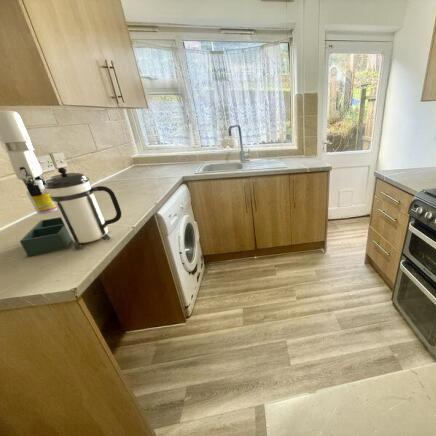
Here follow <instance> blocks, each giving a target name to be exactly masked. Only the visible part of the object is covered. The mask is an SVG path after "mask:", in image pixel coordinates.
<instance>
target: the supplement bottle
mask: <svg viewBox="0 0 436 436" xmlns="http://www.w3.org/2000/svg"><path fill="white" fill-rule="evenodd" d="M35 181H36V185H38V186H39V188H40V190H41V192H43V190H44V189H45V187H44V185H43V182H42V180H35ZM25 192H26V195H27V196H28V198H29V200H30V202H31V204H32V206H33V208H34V210H35V212H36V213H37V214H38V215H46V214H51V213H54V212H56V211H58V210H57V208H56V206H55V204H54V202H53V201H52V200H51V198H50V194H49V193H46V194H42V195H40V196H31V195H30V193H29V191H28V189H27V188H26V190H25Z"/></svg>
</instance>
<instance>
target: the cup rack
mask: <svg viewBox="0 0 436 436" xmlns="http://www.w3.org/2000/svg"><path fill="white" fill-rule="evenodd" d="M71 241H72V239H71V237H70V235H69V233H68V231H67V229H66V227H65V225H64V222H63V220H62V218H61V216H59V217H52V218H48V219H47V218H46V219H41V220H40V221H38V222H37V223H36V225H34V227H32V229H30V230H29V231H28V233H27V234H25V235H24V236H23V237H22V238H21V239H20V240H19V242H20V244H21V246H22V248H23V250H24V252H25V253H26V255H27V257H33V256H38V255H42V254H47V253H51V252H56V251H61V250H64V249H67V247H68V246H69V244H70V243H71Z"/></svg>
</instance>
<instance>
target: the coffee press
mask: <svg viewBox="0 0 436 436" xmlns="http://www.w3.org/2000/svg"><path fill="white" fill-rule="evenodd" d="M57 172H58V173H59V174H56V175H53V176H49V177H48V178H46V179H45V180H44V181H45V185H44V187H45V189H44V190H43V192H42V194H46V193H49V194H50V198H51V200H52V201H53V202H54V204H55V206H56V208H57V210H56V211H57V212H58V214H59V217H61V218H62V220H63V222H64V225H65V227H66V229H67V231H68V233H69V235H70V237H71V241H73V243H74V249H78V250H79V249H80V248H82V247H83V245H84V244H86V243H90V242H94V241H97V240H99V239H103V240H104V241H106V240H107V241H109V240H110V239H111V236H110V235H108V233H109V229H108V226H109V225H111V224H114V223H116V222H118V221H119V220H121V217H122V209H121V207H120V204H119V202H118V199H117V197H116V194H115V192H114V190H112V189H111V188H109V187H107V186H105V185H98V186H94V187H92V186H91V184H90V178H89V177H87V175H85V174H84V173H82V172H67V169H66V168H65V167H59V168H58V169H57ZM102 191H103V192H105V193H107V194H108V195H109V197H110V199H111V202H112V204H113V207H114V210H115V216H114V217H113V218H111V219H110V218H109V219H106V220H105V218H104V216H103V213H102V211H101V209H100V206H99V204H98V201H97V199H96V195H95V192H102Z"/></svg>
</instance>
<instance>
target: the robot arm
mask: <svg viewBox="0 0 436 436" xmlns="http://www.w3.org/2000/svg"><path fill="white" fill-rule="evenodd" d="M0 142H1V145H2V147H3V148H4V151H5V153H7V155H8V159H9V162H10V164H11V167H12V169H13V171H14V174H15V176H16V178H17V179H18V180H19V181H20V180H21V181H22V182H23V184H24V186H25V187H26V190H27V189H28V191H29V193H30V195H31V196H40V195H42V192H41V190H40V188H39V186H38V185H36V181H35V180H42V182H43V185H45V181H46V180H45V177H44V176H43V174H44V173H43V169H42V166H41V164H40V162H39V160H38V158H37V156H36V155H35V152H34V151H35V150H36V149H35V147H34V144H33V142H32V141H31V137H30V135H29V134H28V131H27V128H26V126H25V124H24V122H23V120H22V117H21V115H20V114H19V113H18V112H17V111H14V110H0Z"/></svg>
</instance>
